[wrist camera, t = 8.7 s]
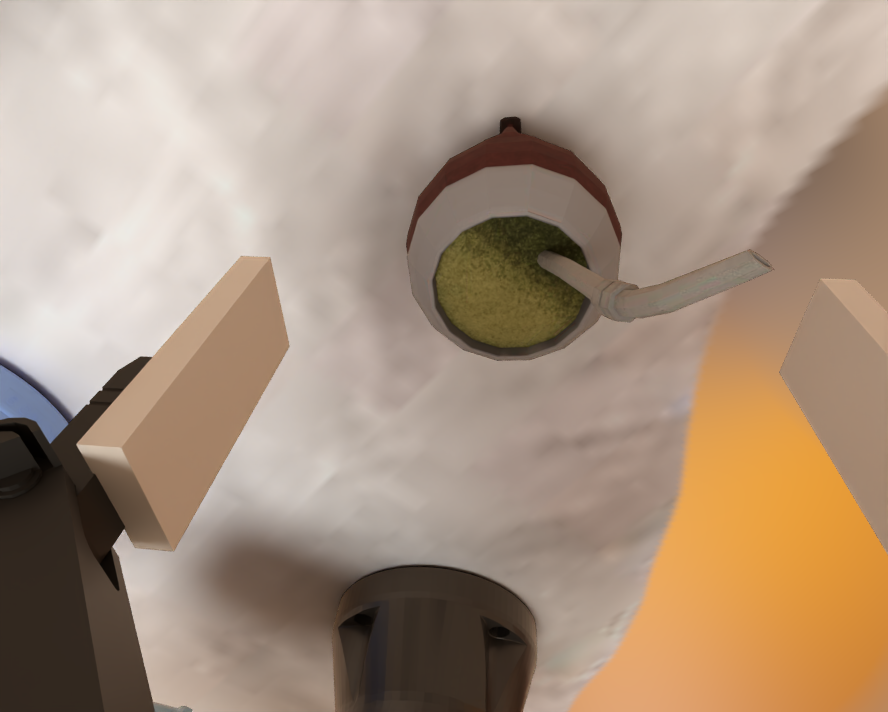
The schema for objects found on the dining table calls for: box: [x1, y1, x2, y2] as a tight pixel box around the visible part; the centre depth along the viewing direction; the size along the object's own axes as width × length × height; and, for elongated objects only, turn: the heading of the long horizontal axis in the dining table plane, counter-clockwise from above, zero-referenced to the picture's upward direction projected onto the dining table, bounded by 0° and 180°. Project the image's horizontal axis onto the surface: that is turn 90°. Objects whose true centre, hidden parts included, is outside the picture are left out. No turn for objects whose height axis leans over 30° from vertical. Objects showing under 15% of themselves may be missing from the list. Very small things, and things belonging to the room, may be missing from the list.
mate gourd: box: [406, 117, 774, 361], centre depth 17 cm, size 8×8×15 cm
